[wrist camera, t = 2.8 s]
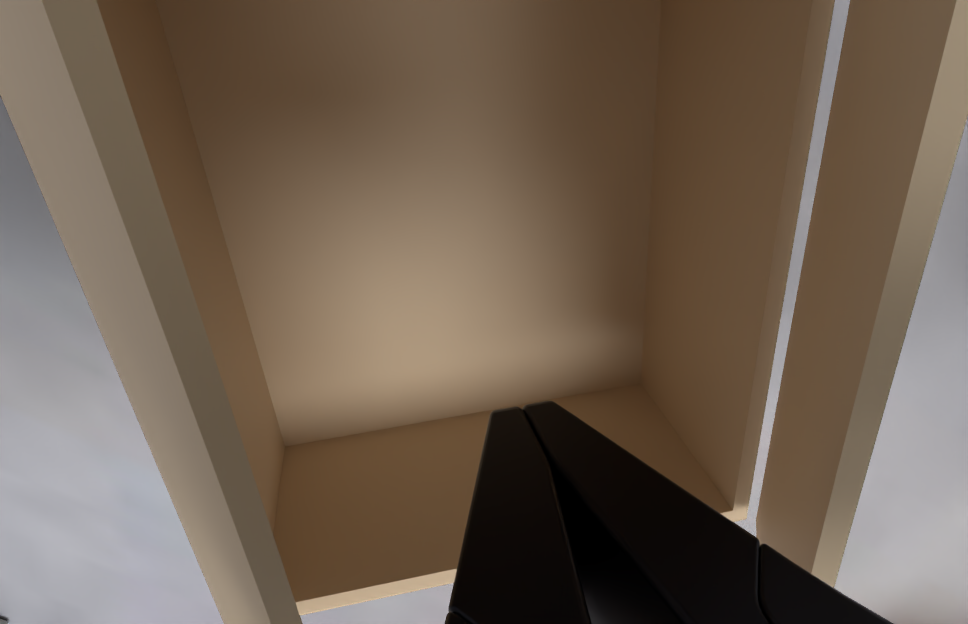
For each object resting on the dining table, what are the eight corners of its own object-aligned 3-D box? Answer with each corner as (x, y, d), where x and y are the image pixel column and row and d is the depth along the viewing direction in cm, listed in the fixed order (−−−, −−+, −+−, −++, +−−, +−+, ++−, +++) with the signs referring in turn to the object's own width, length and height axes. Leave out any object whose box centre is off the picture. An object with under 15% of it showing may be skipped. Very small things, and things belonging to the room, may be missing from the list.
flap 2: (878, -158, 9) (903, -160, 9) (756, 519, 15) (769, 522, 15) (1022, -262, 4) (1076, -271, 4) (763, 762, 11) (783, 767, 11)
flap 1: (23, -219, 4) (-42, -223, 3) (381, 863, 10) (365, 879, 10) (-49, -97, 7) (-81, -96, 7) (243, 628, 14) (230, 637, 13)
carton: (677, -144, 14) (871, -215, 9) (646, 391, 21) (744, 527, 16) (108, -106, 13) (-62, -165, 7) (278, 457, 20) (252, 633, 14)
